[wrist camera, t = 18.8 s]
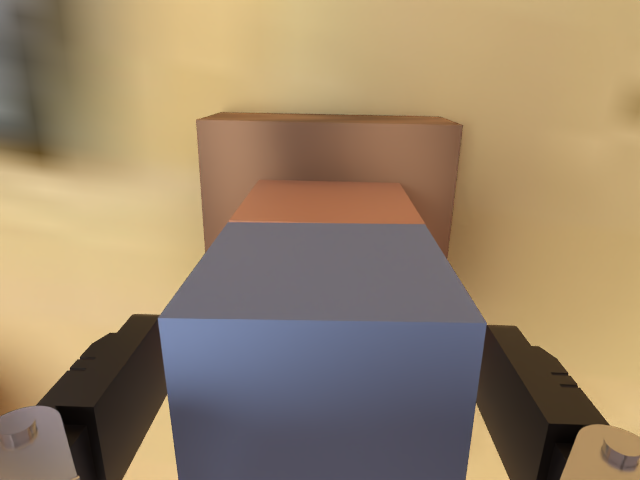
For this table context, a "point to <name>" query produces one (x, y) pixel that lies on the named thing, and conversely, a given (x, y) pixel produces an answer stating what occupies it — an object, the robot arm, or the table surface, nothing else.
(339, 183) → the terracotta block
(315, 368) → the blue block
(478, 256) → the table surface
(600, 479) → the robot arm
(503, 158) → the table surface
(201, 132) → the plinth
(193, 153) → the table surface
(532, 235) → the table surface
